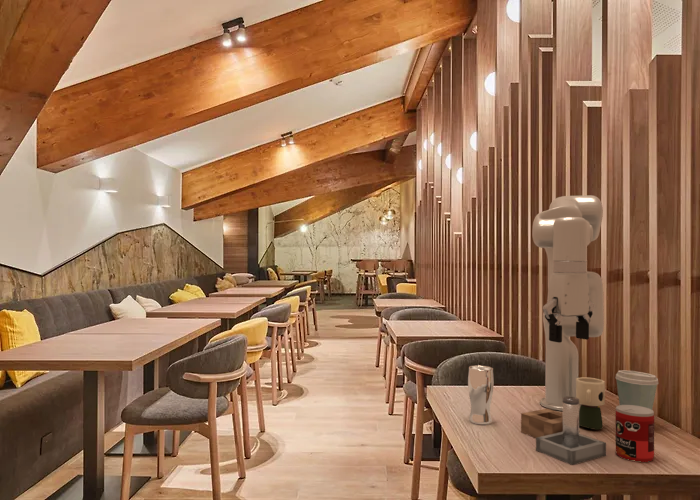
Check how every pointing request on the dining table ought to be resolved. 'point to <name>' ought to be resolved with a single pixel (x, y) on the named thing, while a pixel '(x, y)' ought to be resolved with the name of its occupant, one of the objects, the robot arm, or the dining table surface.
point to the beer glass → (480, 393)
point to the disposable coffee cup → (636, 388)
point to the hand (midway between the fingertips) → (569, 340)
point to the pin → (570, 422)
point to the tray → (584, 452)
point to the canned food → (635, 433)
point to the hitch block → (541, 422)
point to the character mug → (590, 401)
